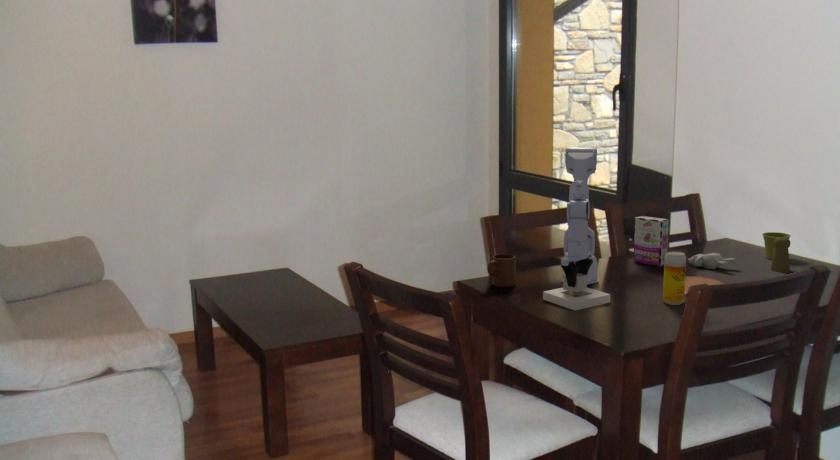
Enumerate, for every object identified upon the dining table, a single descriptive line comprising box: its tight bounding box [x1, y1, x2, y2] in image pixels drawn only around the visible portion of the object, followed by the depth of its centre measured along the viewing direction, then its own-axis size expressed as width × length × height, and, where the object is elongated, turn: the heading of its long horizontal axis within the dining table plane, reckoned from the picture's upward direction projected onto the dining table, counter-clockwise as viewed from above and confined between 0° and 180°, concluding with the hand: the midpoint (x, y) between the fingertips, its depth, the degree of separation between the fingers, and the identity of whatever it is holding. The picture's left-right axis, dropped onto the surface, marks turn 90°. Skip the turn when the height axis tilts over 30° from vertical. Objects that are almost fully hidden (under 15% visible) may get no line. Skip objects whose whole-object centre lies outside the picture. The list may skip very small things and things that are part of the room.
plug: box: [562, 273, 588, 296], centre depth 248 cm, size 5×5×6 cm
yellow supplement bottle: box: [662, 251, 687, 306], centre depth 244 cm, size 6×6×15 cm
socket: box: [542, 286, 611, 311], centre depth 248 cm, size 14×14×3 cm
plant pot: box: [761, 231, 792, 260], centre depth 295 cm, size 9×9×9 cm
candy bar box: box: [633, 215, 670, 268], centre depth 290 cm, size 11×5×16 cm, turn 42°
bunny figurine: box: [687, 252, 737, 270], centre depth 284 cm, size 10×5×15 cm
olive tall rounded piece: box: [770, 238, 791, 273], centre depth 279 cm, size 6×6×11 cm
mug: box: [486, 253, 517, 288], centre depth 266 cm, size 12×8×9 cm, turn 137°
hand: (576, 284), depth 247 cm, fingers closed on plug, 5 cm apart
